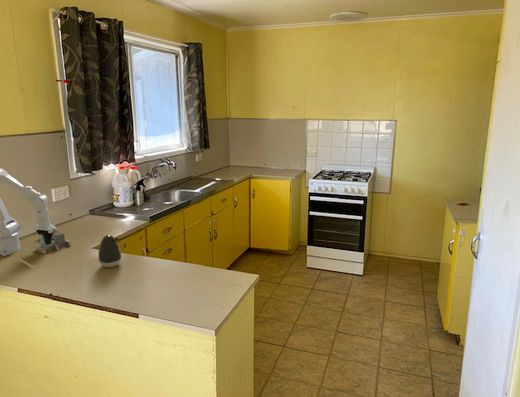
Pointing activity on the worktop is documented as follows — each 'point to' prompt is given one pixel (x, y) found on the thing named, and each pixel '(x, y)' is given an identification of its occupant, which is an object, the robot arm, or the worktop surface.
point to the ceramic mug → (54, 230)
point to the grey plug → (59, 239)
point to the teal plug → (44, 242)
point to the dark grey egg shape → (109, 252)
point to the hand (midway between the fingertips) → (46, 243)
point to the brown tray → (52, 247)
